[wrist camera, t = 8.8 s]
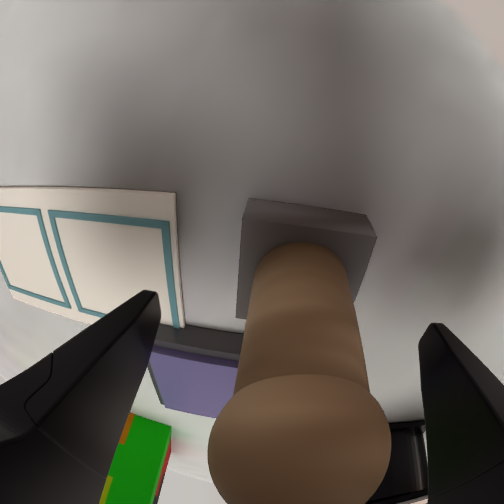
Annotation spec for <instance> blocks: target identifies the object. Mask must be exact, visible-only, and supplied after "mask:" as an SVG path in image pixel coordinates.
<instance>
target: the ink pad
mask: <svg viewBox="0 0 504 504" xmlns="http://www.w3.org/2000/svg"><path fill="white" fill-rule="evenodd" d="M243 336H244V334H237V333H230V332H224V331H217V330H211V329H205V328H199V327H193V326H188V325H185V327H184V328H181V327H180V329H177V328H173V326H170V325H165V324H159V327H158V331H157V334H156V338H155V341H154V345H153V349H152V352H151V356H150V359H149V363H148V366H147V367H148V370H149V373H150V376H151V378H152V381H153V384H154V387H155V390H156V392H157V395H158V398H159V400H160V403H161V404H163V405H165V408H169V409H173V410H178V411H182V412H187V413H191V414H196V415H201V416H206V417H212V418H217V417H218V415H219V413H220V412H221V410H222V409H223V407H224V406H225V405H226V403H227V402H228V401H229V400H230V399H231V398H232V397H233V392H234V387H235V381H236V376H237V370H238V364H239V359H240V353H241V348H242V342H243Z"/></svg>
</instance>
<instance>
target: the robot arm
mask: <svg viewBox="0 0 504 504" xmlns="http://www.w3.org/2000/svg"><path fill="white" fill-rule="evenodd" d="M160 320H161V307H160V301H159V296H158V293H157V292H156V291H151V290H142V291H141V292H139V293H138V294H136V295H135V296H133V297H132V298H130V299H129V300H127V301H126V302H124V303H123V304H121V305H120V306H118V307H117V308H115V309H114V310H112V311H111V312H109V313H108V314H106V315H105V316H103V317H102V318H100V319H99V320H97V321H96V322H95V323H93V324H92V325H90V326H89V327H87V328H86V329H84V330H83V331H81V332H80V333H79V334H77V335H76V336H74V337H73V338H71V339H70V340H69V341H67V342H66V343H64V344H63V345H61V346H60V347H59V348H57V349H56V350H54V351H53V353H50V354H49V355H47V356H46V357H44V358H43V359H41V360H40V361H39V362H37V363H36V364H34V365H33V366H31V367H30V368H28V369H27V370H25V371H23V372H22V373H20V374H18V375H17V376H15V377H13V378H12V379H10V380H8V381H7V382H5V383H3V384H1V385H0V504H99V502H100V499H101V495H102V492H103V489H104V486H105V483H106V478H107V476H108V473H109V470H110V467H111V464H112V461H113V458H114V455H115V452H116V449H117V446H118V443H119V440H120V437H121V435H122V432H123V429H124V426H125V423H126V421H127V418H128V415H129V413H130V410H131V407H132V405H133V402H134V399H135V397H136V394H137V391H138V389H139V386H140V384H141V381H142V379H143V376H144V374H145V371H146V368H147V366H148V363H149V359H150V356H151V352H152V349H153V345H154V341H155V338H156V334H157V331H158V327H159V324H160ZM418 349H419V362H420V378H421V392H422V400H423V408H424V417H425V421H420V422H412V423H402V424H390V425H389V428H390V433H391V455H390V461H389V465H388V468H387V471H386V474H385V476H384V478H383V480H382V482H381V484H380V485H379V487H378V488H377V490H376V491H375V493H374V494H373V495H372V496H371V497H370V498H369V500H368V501H367V502H366V503H365V504H410V503H414V502H417V501H421V500H424V499H428V503H427V504H504V385H503V384H502V383H501V382H500V381H499V380H498V379H497V377H496V376H495V375H494V374H493V373H492V372H491V371H490V370H489V369H488V368H487V367H486V366H485V365H484V364H483V363H482V362H481V361H480V360H479V359H478V358H477V357H476V356H475V355H474V354H473V353H472V352H471V351H470V350H469V349H468V348H467V347H466V346H465V345H464V344H463V343H462V342H461V341H460V340H459V339H458V338H457V337H456V336H455V335H454V334H453V333H452V332H451V331H450V330H449V329H448V328H447V327H446V326H445V325H444V324H442V323H431V324H430V325H429V326H428V328H427V329H426V331H425V333H424V334H423V336H422V337H421V339H420V341H419V345H418ZM425 431H426V440H427V456H426V449H425V443H424V438H423V433H424V432H425ZM427 457H428V463H427Z"/></svg>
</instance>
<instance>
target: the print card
mask: <svg viewBox="0 0 504 504" xmlns="http://www.w3.org/2000/svg"><path fill="white" fill-rule="evenodd" d="M0 269H1V272H2V274H3V276H4V279H5V281H6V283H7V286H8V288H9V290H10V292H11V294H12V296H13V298H14V299H16V300H19V301H21V302H24V303H27V304H29V305H32V306H35V307H38V308H40V309H43V310H46V311H49V312H52V313H55V314H58V315H61V316H64V317H67V318H70V319H74V320H77V321H80V322H83V323H87V324H90V325H92V324H93V323H95V322H96V321H97V320H99V319H100V318H102V317H103V316H105V315H106V314H108V313H109V312H111V311H112V310H114V309H115V308H117V307H118V306H120V305H121V304H123V303H124V302H126V301H127V300H129V299H130V298H132V297H133V296H135V295H136V294H138V293H139V292H141V291H142V290H151V291H156V292H157V293H158V296H159V301H160V307H161V320H160V324H165V325H170V326H173V328H177V329H180V327H181V328H184V327H185V319H184V310H183V300H182V289H181V278H180V266H179V253H178V237H177V219H176V195H175V193H168V192H154V191H140V190H123V189H103V188H77V187H0Z"/></svg>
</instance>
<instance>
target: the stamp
mask: <svg viewBox="0 0 504 504" xmlns="http://www.w3.org/2000/svg"><path fill="white" fill-rule="evenodd" d="M376 239H377V236H376V234H375V232H374V230H373V228H372V226H371V224H370V222H369V220H368V218H367V216H366V215H363V214H357V213H351V212H345V211H339V210H332V209H326V208H319V207H312V206H305V205H298V204H291V203H283V202H275V201H267V200H259V199H251V198H249V199H248V202H247V205H246V208H245V212H244V215H243V218H242V231H241V245H240V259H239V274H238V289H237V304H236V318H240V319H246V325H245V331H244V336H243V342H242V348H241V353H240V359H239V364H238V370H237V376H236V381H235V387H234V392H233V397H232V398H231V399H230V400H229V401H228V402H227V403H226V405H225V406H224V407H223V409H222V410H221V412H220V413H219V415H218V417H217V419H216V421H215V423H214V425H213V427H212V430H211V433H210V437H209V443H208V465H209V471H210V474H211V477H212V480H213V483H214V484H215V486H216V488H217V490H218V492H219V494H220V495H221V496H222V498H223V499H224V500H225V502H226V503H227V504H365V503H366V502H367V501H368V500H369V498H370V497H371V496H372V495H373V494H374V493H375V491H376V490H377V488H378V487H379V485H380V484H381V482H382V480H383V478H384V476H385V474H386V471H387V468H388V465H389V461H390V455H391V433H390V428H389V424H388V421H387V419H386V416H385V414H384V411H383V410H382V408H381V406H380V405H379V403H378V402H377V400H376V399H375V398H374V397H373V396H372V395H371V393H370V390H369V383H368V377H367V371H366V365H365V359H364V353H363V348H362V343H361V337H360V332H359V327H358V322H357V317H356V313H355V308H354V301H355V298H356V296H357V293H358V291H359V288H360V285H361V283H362V280H363V277H364V274H365V271H366V269H367V266H368V263H369V260H370V257H371V254H372V251H373V248H374V245H375V242H376Z"/></svg>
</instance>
